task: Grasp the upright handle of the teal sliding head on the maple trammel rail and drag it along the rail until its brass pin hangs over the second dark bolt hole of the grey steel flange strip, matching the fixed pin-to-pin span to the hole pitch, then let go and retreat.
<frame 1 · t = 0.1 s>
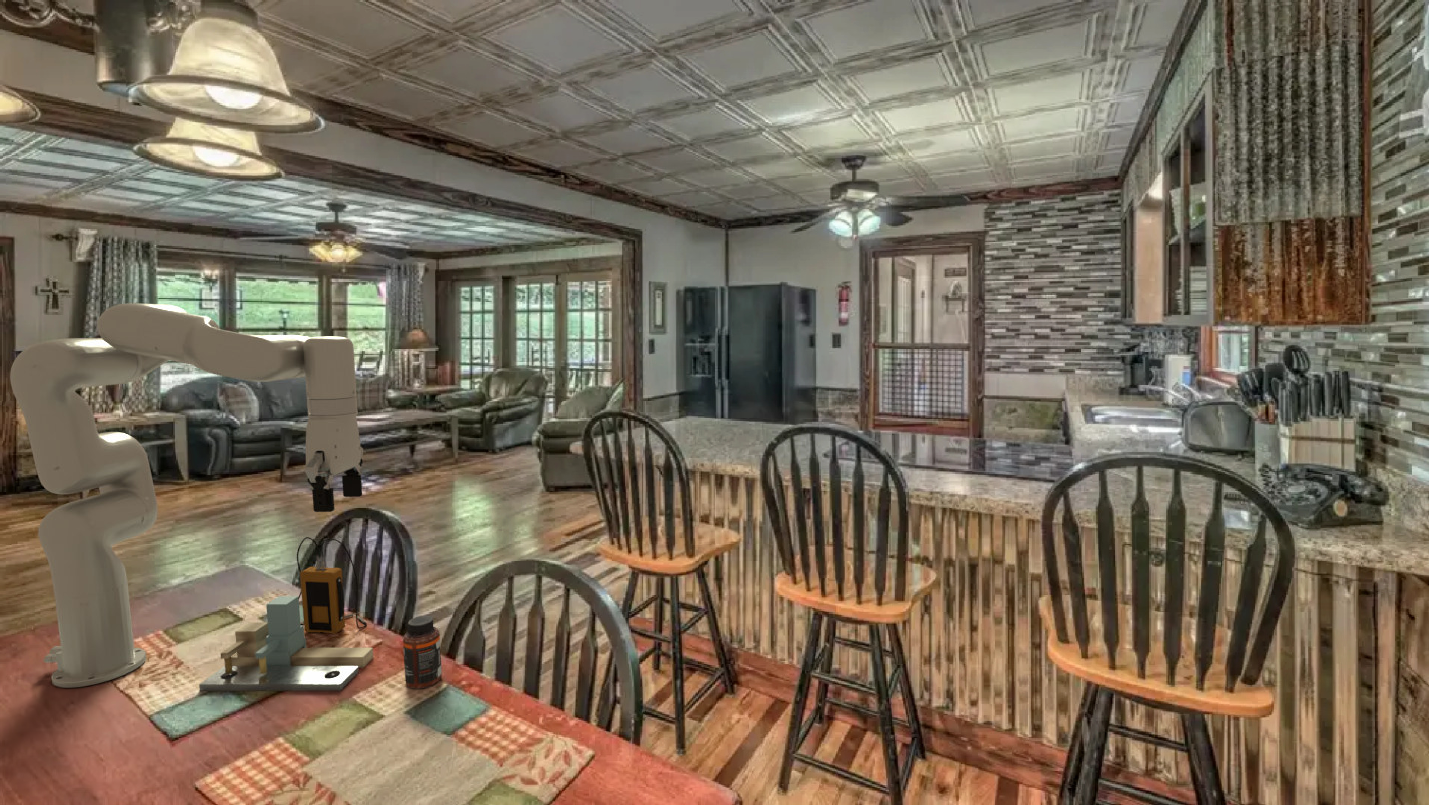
hand: (339, 503, 117), 31 cm above the table, fingers open, 9 cm apart
trammel rail: (303, 662, 123), on the table
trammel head: (276, 636, 120), point 6 cm above the table, slide at 0.0 cm
flange plate: (281, 681, 117), on the table
supplement bottle: (423, 682, 117), on the table
multimeter: (336, 624, 140), on the table
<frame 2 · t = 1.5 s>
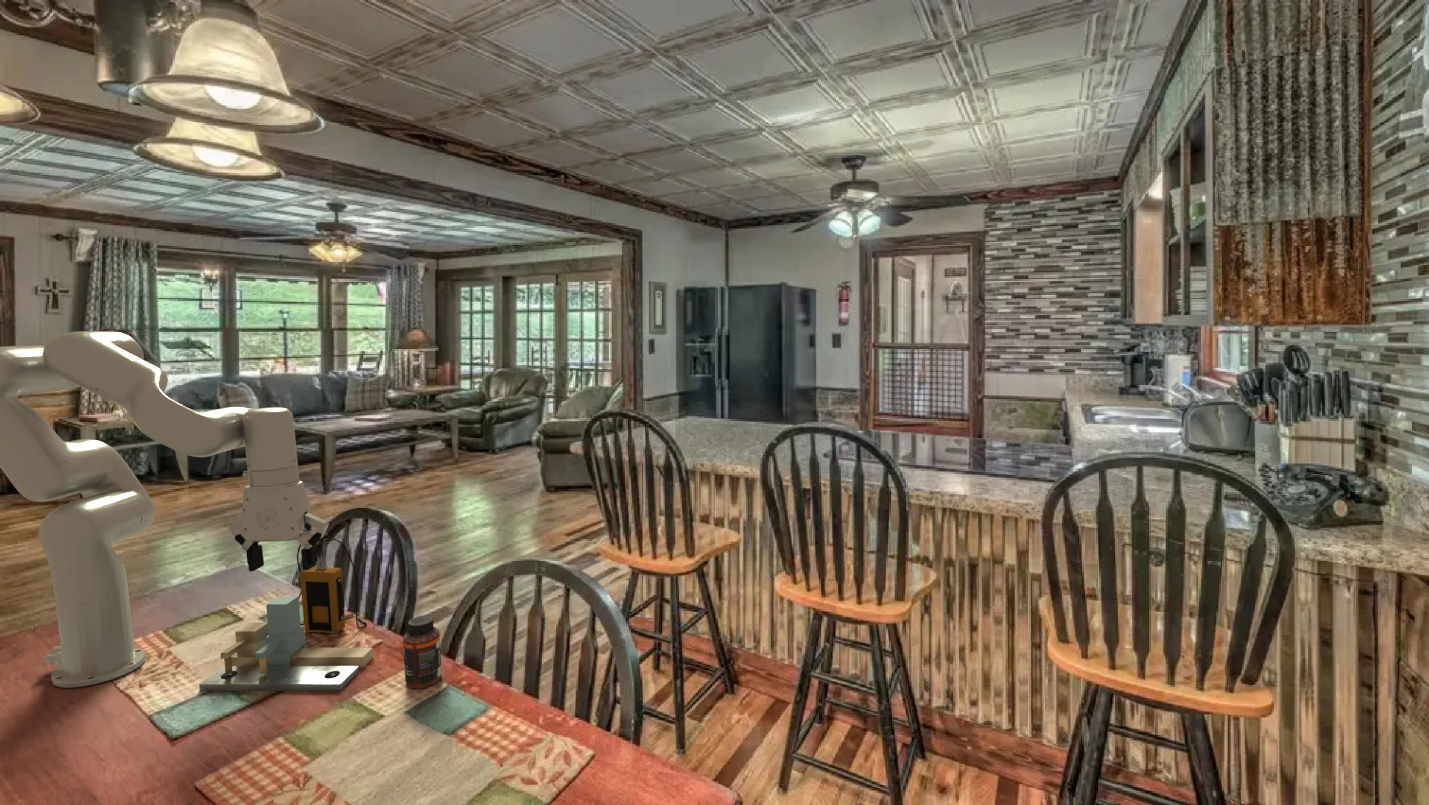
hand: (283, 568, 121), 18 cm above the table, fingers open, 9 cm apart
nothing on the table moved.
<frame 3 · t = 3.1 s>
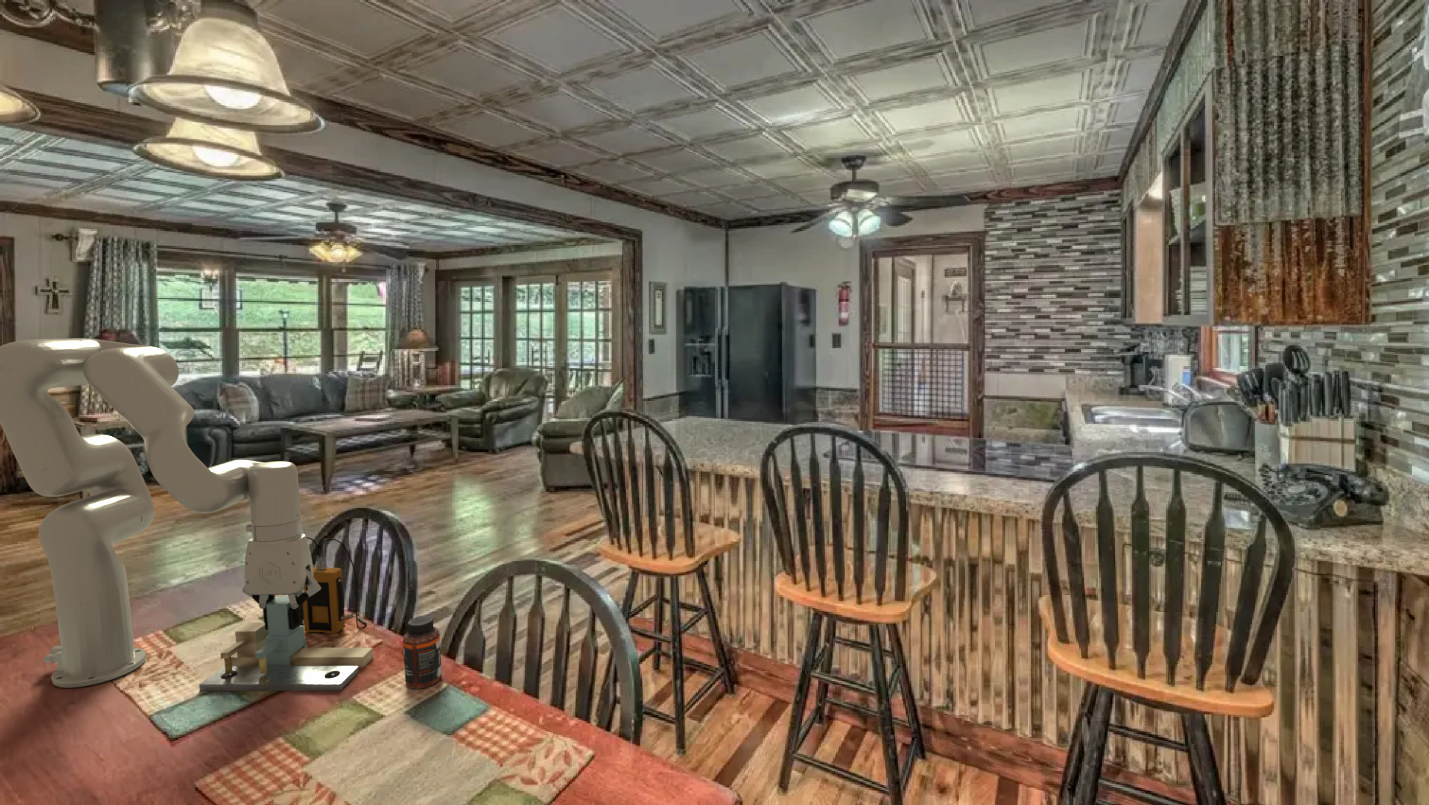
hand: (284, 625, 122), 7 cm above the table, fingers closed on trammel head, 3 cm apart
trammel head: (276, 636, 120), point 6 cm above the table, slide at 0.0 cm, touching gripper
everything else where it was.
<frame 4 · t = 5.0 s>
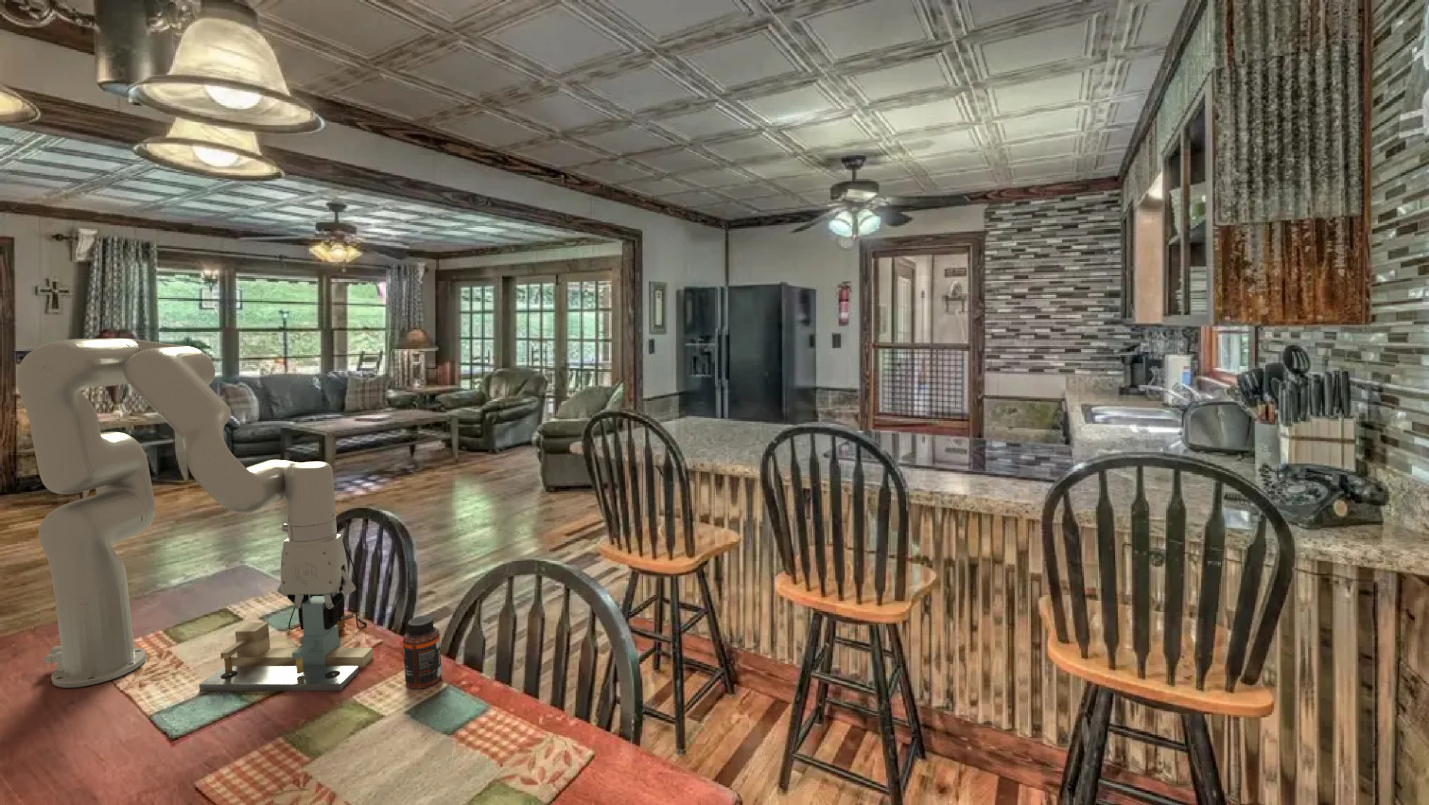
hand: (319, 625, 122), 7 cm above the table, fingers closed on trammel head, 3 cm apart
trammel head: (312, 636, 120), point 6 cm above the table, slide at 6.4 cm, touching gripper
everything else where it was.
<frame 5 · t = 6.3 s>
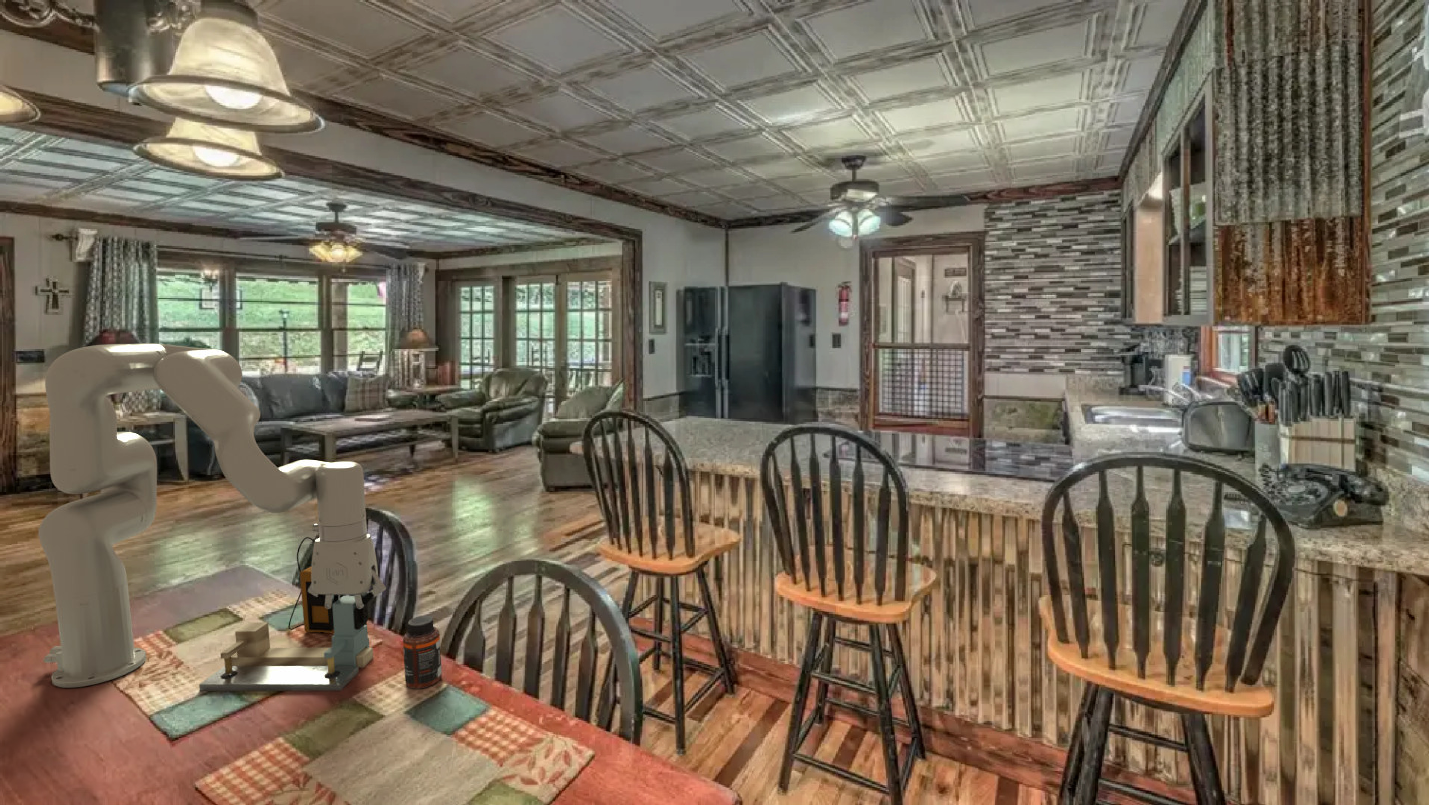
hand: (349, 625, 122), 7 cm above the table, fingers closed on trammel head, 3 cm apart
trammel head: (342, 636, 120), point 6 cm above the table, slide at 11.9 cm, touching gripper
everything else where it was.
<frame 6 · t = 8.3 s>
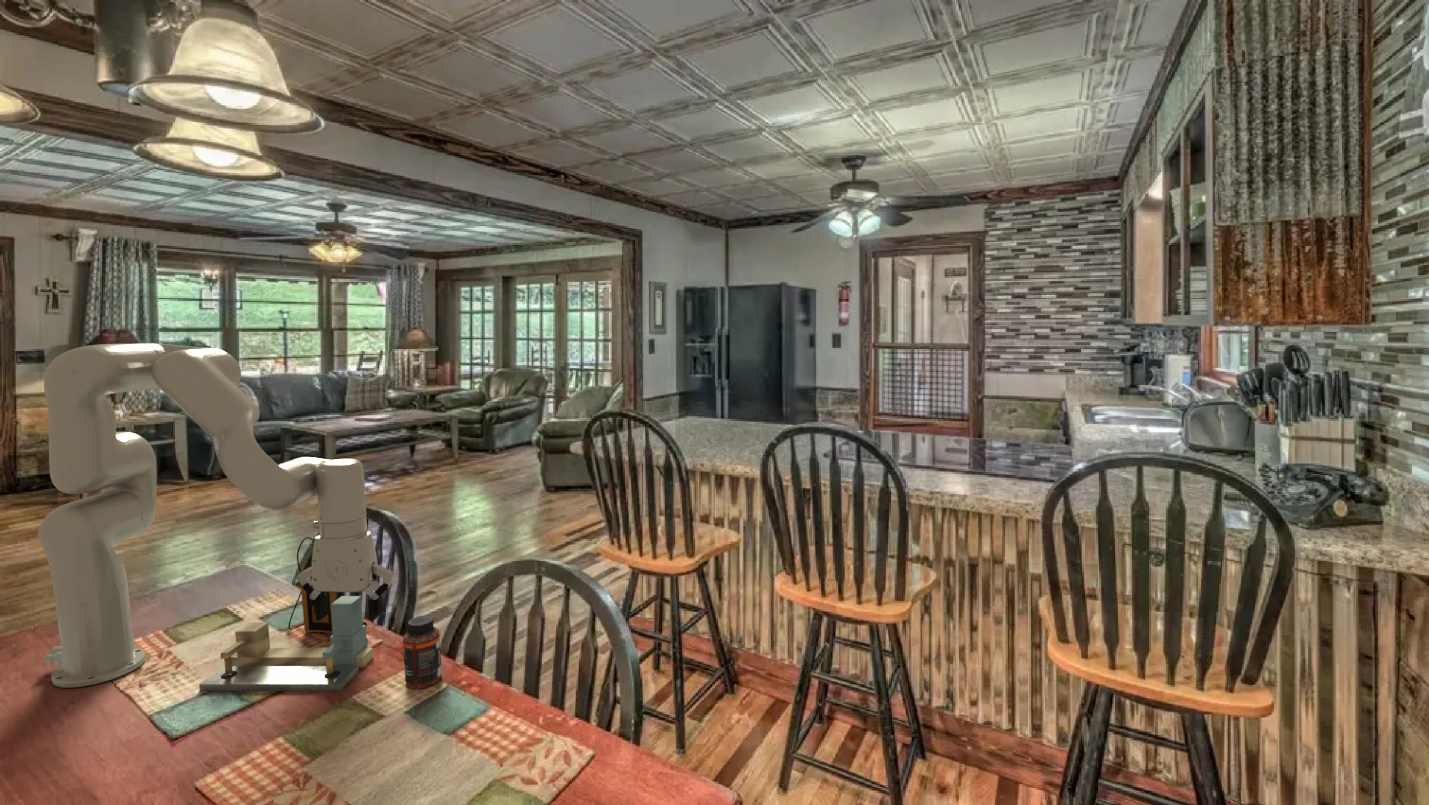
hand: (349, 617, 122), 9 cm above the table, fingers open, 9 cm apart
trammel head: (341, 636, 120), point 6 cm above the table, slide at 11.6 cm
everything else where it was.
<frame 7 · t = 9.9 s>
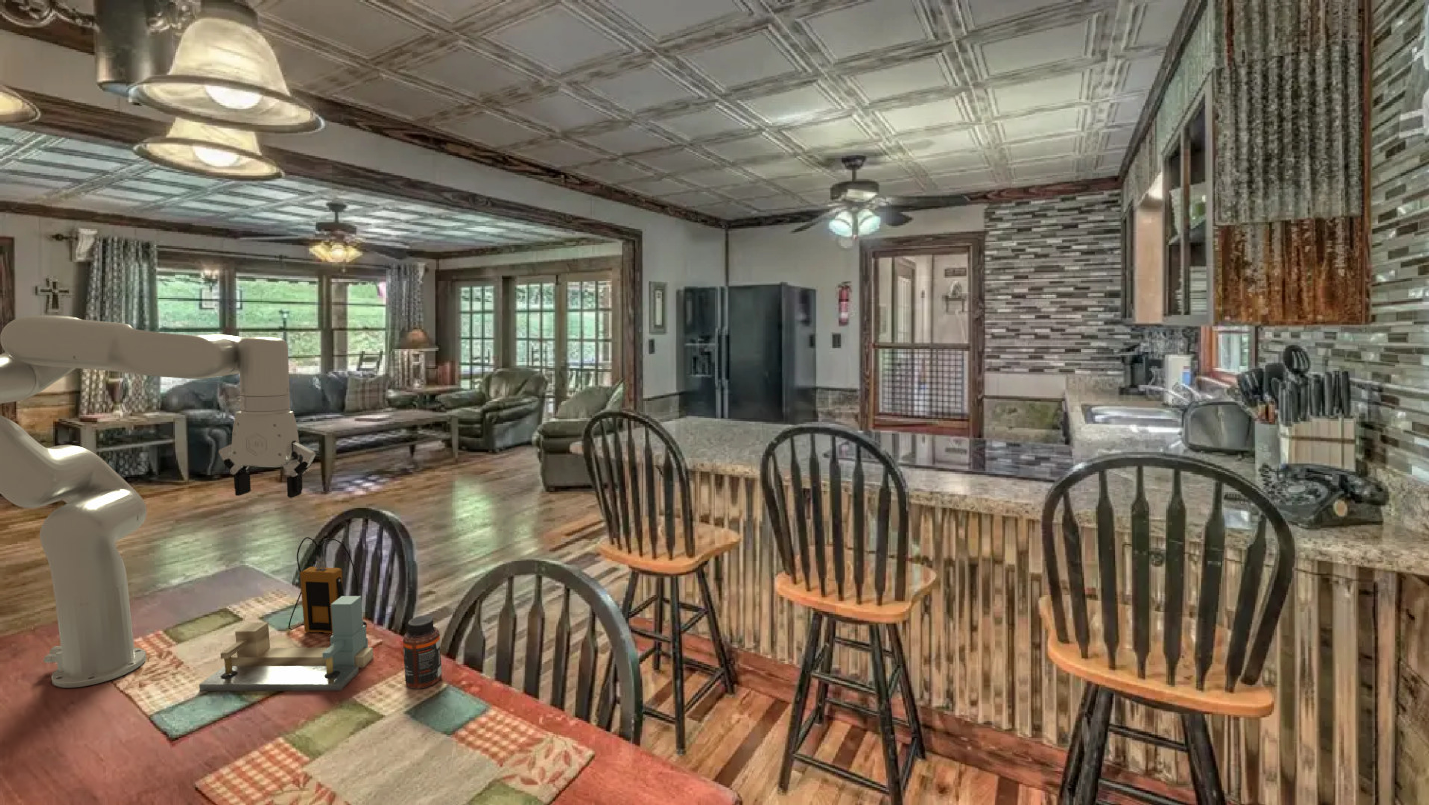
hand: (268, 494, 124), 31 cm above the table, fingers open, 9 cm apart
nothing on the table moved.
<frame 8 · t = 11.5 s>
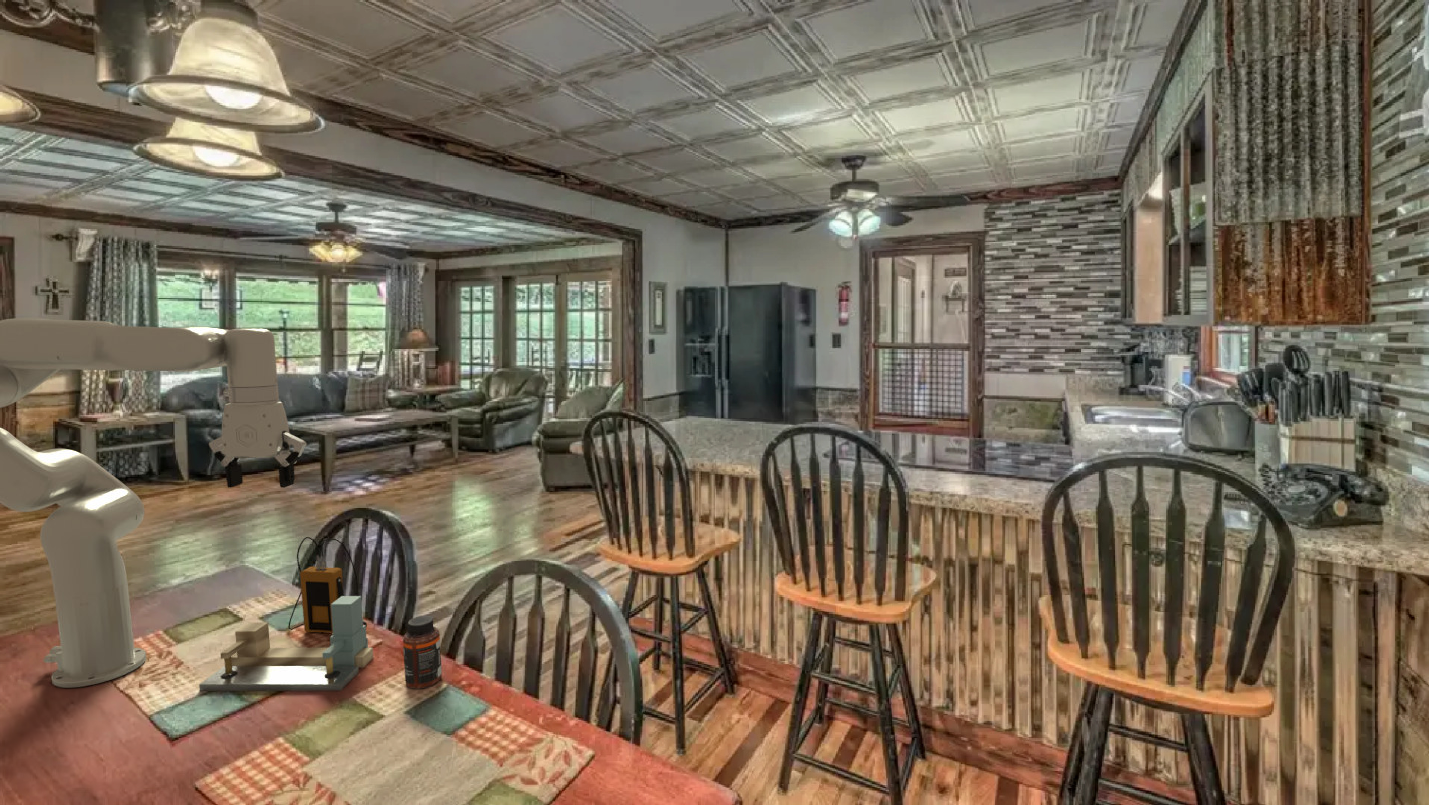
hand: (261, 485, 125), 32 cm above the table, fingers open, 9 cm apart
nothing on the table moved.
at the end: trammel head slide at 11.6 cm; the gripper is holding nothing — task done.
